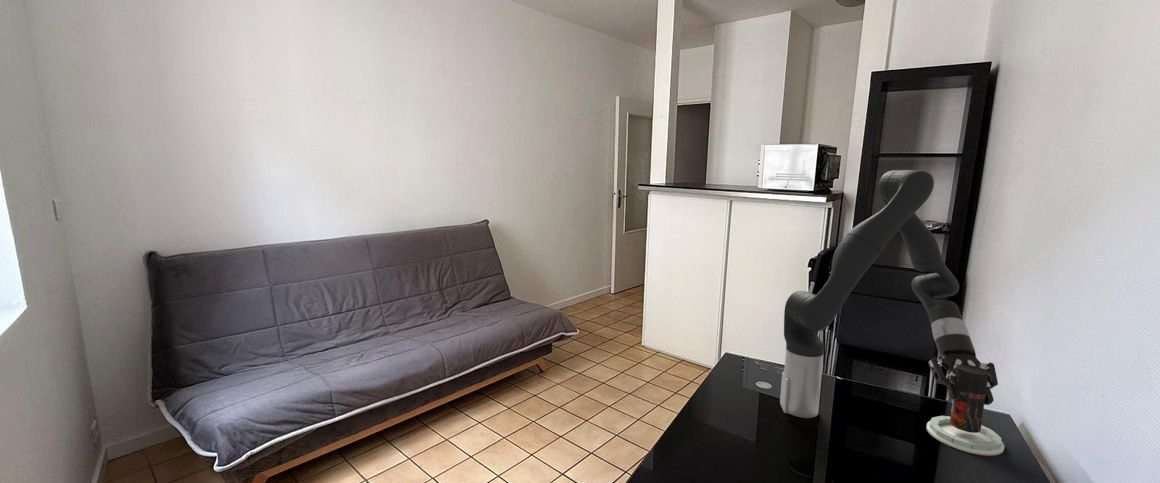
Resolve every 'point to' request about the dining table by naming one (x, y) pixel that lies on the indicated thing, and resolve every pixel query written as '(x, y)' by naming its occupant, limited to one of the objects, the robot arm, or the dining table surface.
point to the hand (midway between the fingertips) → (972, 402)
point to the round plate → (965, 437)
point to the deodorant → (969, 398)
